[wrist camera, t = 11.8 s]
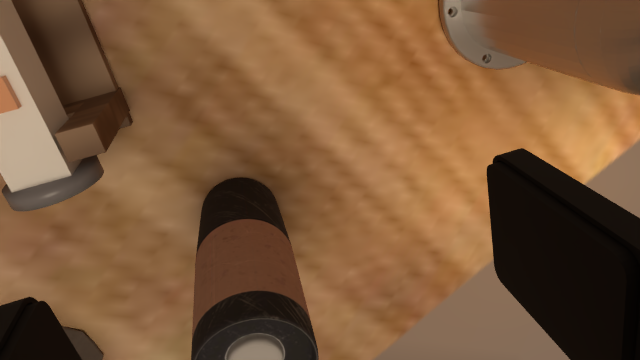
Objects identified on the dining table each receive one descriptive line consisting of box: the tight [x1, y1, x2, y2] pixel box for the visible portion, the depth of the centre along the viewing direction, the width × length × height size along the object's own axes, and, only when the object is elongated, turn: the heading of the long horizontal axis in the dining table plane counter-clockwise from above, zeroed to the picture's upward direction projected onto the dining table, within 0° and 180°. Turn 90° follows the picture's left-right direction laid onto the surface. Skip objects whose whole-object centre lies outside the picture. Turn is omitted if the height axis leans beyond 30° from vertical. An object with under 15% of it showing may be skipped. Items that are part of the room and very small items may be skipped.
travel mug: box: [191, 178, 318, 360], centre depth 37 cm, size 8×8×20 cm
